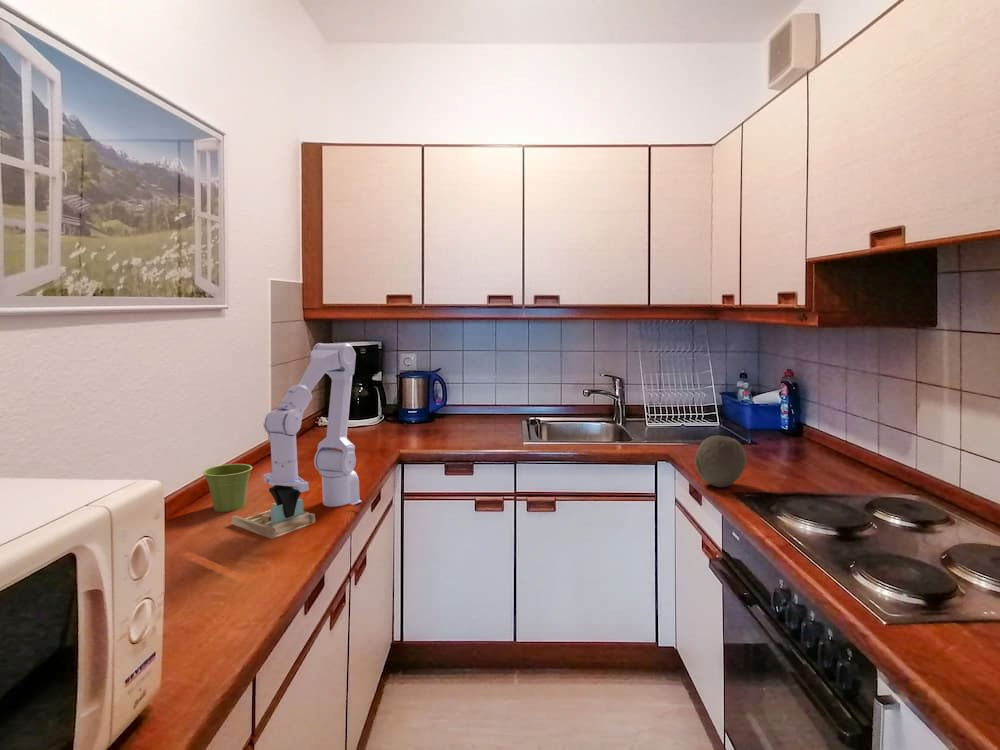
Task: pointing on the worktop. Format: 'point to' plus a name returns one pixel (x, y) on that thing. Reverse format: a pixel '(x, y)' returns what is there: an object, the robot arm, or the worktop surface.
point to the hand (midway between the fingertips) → (287, 515)
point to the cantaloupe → (720, 460)
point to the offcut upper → (266, 517)
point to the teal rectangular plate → (278, 512)
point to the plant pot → (228, 486)
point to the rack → (276, 529)
